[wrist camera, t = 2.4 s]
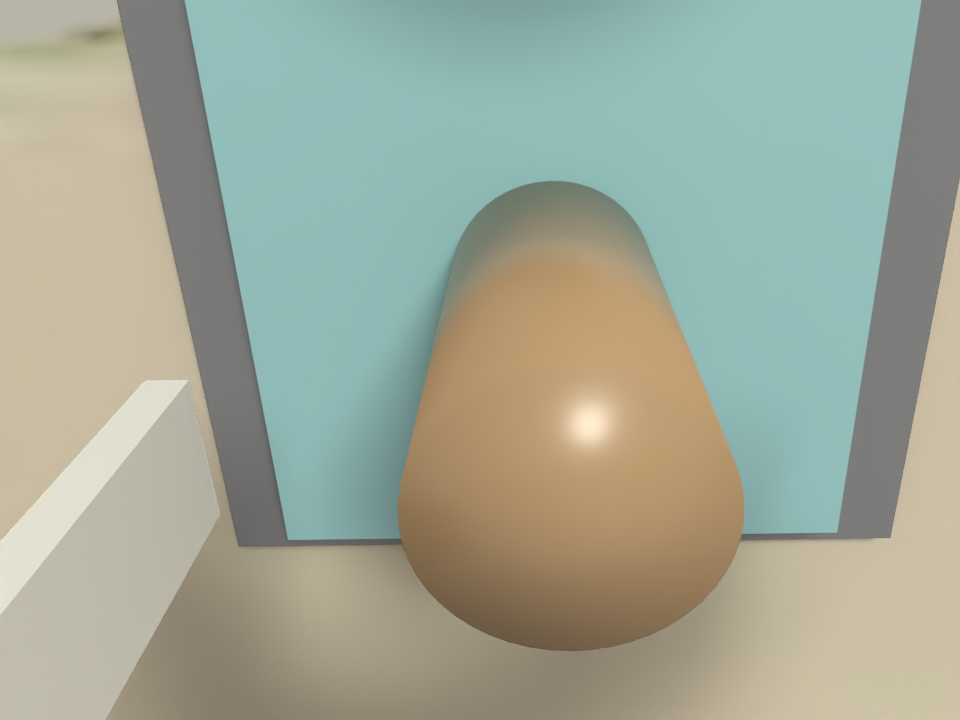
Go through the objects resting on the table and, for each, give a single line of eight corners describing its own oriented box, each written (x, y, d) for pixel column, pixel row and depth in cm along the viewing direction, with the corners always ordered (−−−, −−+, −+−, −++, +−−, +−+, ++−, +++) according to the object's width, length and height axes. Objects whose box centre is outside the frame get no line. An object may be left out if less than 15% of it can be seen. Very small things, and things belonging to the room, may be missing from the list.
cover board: (295, 519, 26) (156, 865, 16) (190, -55, 19) (-165, -57, 9) (826, 511, 25) (1019, 877, 15) (917, -102, 18) (1385, -159, 8)
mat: (244, 534, 27) (239, 546, 27) (106, -98, 19) (94, -99, 19) (883, 525, 26) (890, 537, 25) (1010, -159, 18) (1025, -163, 18)
